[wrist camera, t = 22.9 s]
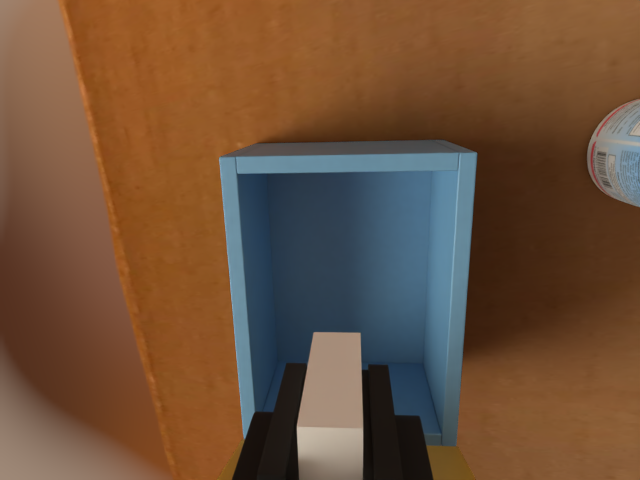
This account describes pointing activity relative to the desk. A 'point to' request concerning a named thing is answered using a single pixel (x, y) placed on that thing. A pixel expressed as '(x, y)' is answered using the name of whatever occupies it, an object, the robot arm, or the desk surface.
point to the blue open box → (352, 264)
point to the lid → (444, 460)
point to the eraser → (332, 410)
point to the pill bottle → (617, 154)
